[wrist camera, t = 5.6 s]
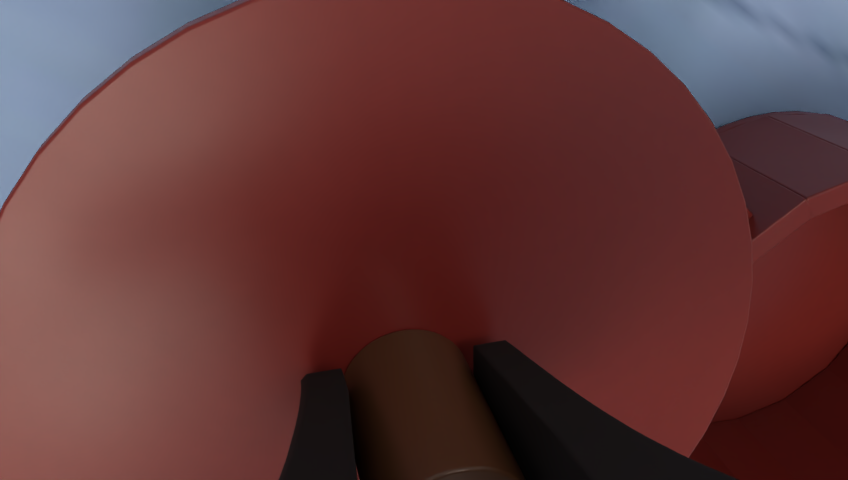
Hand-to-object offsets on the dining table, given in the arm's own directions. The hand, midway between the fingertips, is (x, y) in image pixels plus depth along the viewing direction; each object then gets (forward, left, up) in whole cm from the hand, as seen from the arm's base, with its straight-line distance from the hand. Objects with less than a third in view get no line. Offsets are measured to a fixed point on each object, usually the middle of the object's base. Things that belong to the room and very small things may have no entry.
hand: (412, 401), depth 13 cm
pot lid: (0, 0, -1) cm, 1 cm away
